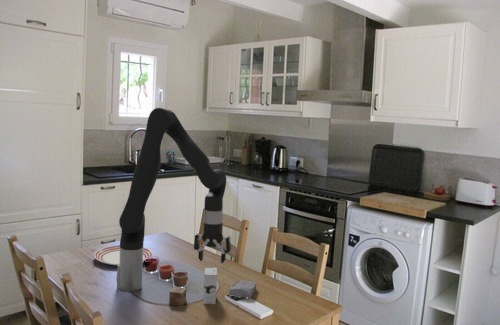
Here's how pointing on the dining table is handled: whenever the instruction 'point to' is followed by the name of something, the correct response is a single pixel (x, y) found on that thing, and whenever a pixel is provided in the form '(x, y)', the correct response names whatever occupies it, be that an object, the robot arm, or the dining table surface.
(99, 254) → the dinner plate
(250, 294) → the stone block
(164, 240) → the dining table surface
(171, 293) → the walnut block
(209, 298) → the ink box
